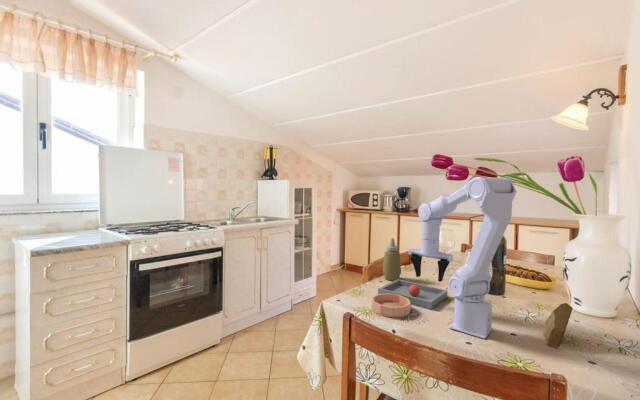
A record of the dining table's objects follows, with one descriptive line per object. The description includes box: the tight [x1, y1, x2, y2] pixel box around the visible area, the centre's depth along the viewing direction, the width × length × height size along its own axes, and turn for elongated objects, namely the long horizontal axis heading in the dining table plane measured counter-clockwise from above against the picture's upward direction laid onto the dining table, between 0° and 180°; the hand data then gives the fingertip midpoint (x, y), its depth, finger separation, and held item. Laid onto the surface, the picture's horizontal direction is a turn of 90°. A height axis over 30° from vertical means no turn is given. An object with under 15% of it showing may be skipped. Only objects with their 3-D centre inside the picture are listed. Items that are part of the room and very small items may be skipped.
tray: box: [377, 278, 449, 311], centre depth 114 cm, size 20×16×2 cm
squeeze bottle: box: [382, 237, 402, 282], centre depth 135 cm, size 8×8×18 cm
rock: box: [542, 302, 574, 349], centre depth 83 cm, size 11×9×10 cm
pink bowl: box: [371, 293, 412, 319], centre depth 101 cm, size 12×13×3 cm
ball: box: [409, 285, 420, 296], centre depth 112 cm, size 4×4×4 cm
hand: (429, 278), depth 105 cm, fingers open, 7 cm apart
